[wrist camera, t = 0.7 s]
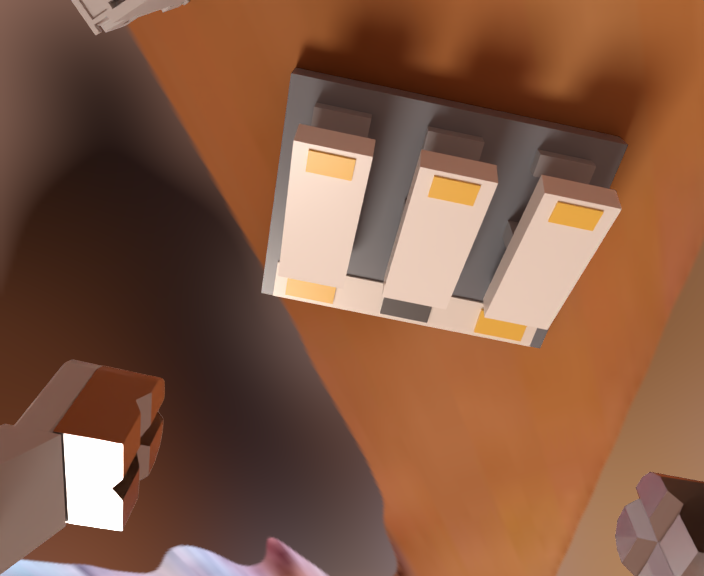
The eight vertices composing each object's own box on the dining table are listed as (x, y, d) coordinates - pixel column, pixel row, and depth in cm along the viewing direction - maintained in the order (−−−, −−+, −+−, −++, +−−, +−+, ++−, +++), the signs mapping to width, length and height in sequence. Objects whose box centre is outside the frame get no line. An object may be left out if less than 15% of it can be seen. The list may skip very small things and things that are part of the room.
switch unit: (295, 67, 44) (285, 81, 40) (619, 136, 45) (640, 156, 41) (265, 280, 53) (255, 309, 49) (535, 334, 54) (546, 367, 50)
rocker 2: (421, 149, 40) (419, 168, 38) (496, 165, 40) (498, 184, 38) (383, 278, 48) (381, 298, 47) (446, 291, 48) (445, 311, 47)
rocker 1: (299, 123, 39) (293, 141, 38) (375, 139, 40) (372, 158, 38) (283, 258, 48) (277, 277, 47) (346, 270, 48) (342, 290, 47)
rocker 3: (541, 174, 40) (544, 194, 39) (615, 190, 40) (622, 210, 39) (483, 298, 49) (484, 318, 47) (544, 310, 49) (547, 331, 47)
